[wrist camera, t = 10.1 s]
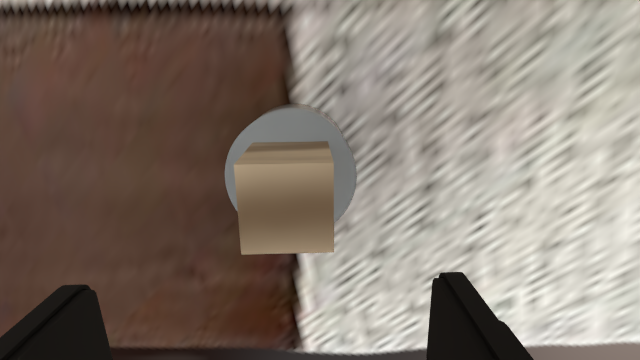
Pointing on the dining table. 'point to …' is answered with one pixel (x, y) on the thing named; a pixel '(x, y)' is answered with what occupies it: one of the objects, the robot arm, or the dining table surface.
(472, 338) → the robot arm
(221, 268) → the dining table surface
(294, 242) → the maple block
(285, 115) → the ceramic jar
